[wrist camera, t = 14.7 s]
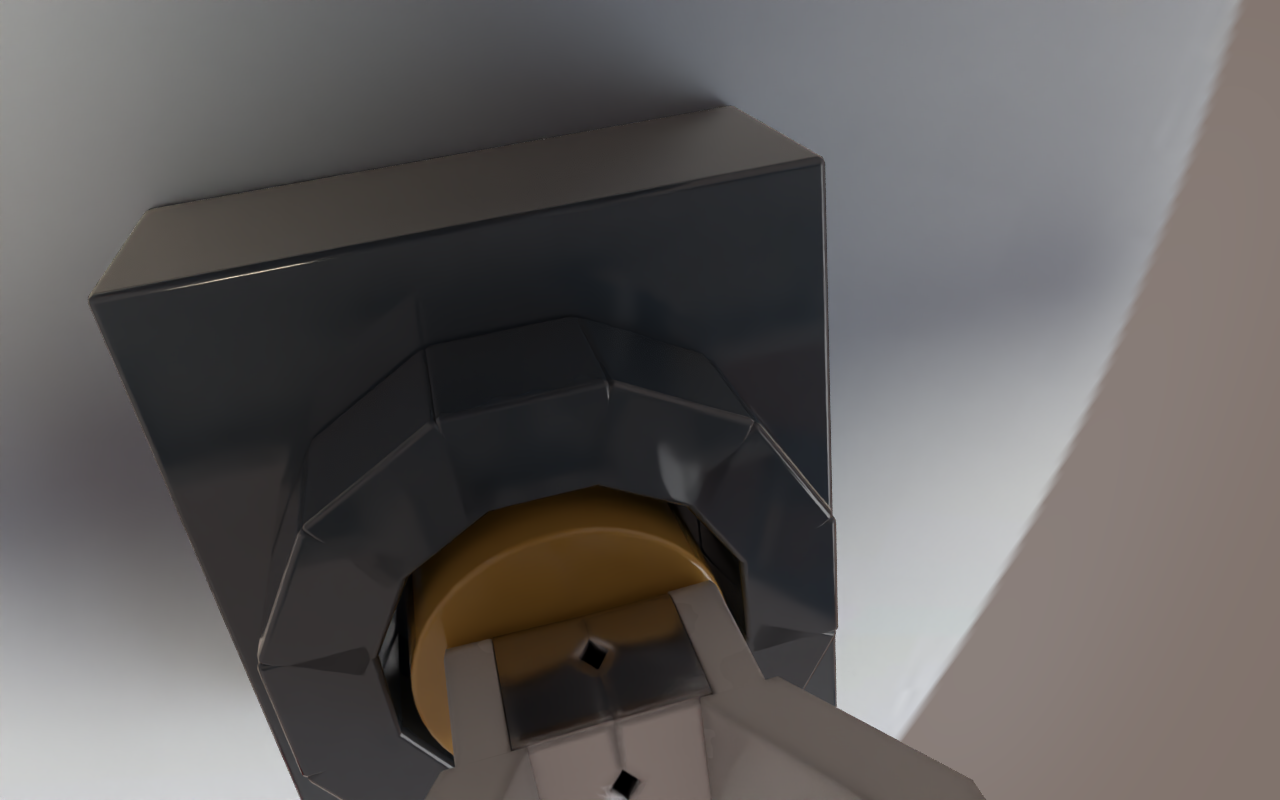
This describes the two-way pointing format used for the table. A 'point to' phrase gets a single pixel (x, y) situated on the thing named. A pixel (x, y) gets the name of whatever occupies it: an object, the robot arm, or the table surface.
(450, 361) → the button housing
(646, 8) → the table surface
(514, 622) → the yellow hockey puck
